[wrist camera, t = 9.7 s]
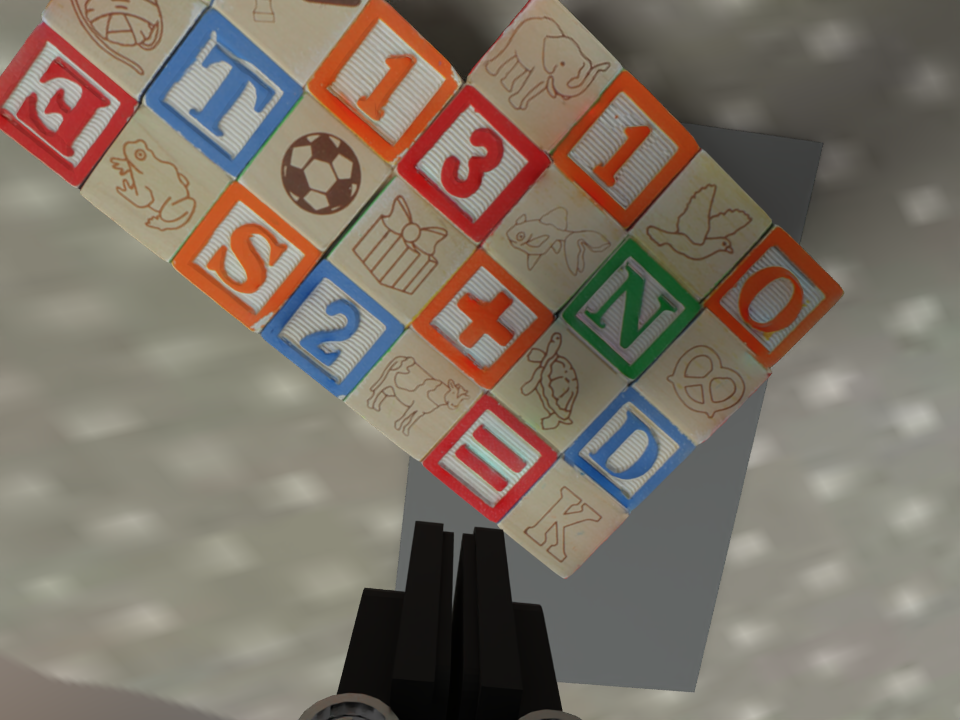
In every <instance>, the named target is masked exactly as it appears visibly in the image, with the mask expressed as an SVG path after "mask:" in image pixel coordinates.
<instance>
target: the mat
mask: <svg viewBox="0 0 960 720" xmlns="http://www.w3.org/2000/svg"><path fill="white" fill-rule="evenodd" d="M680 123H681V124H682V125H683V126H684V128H685V129H686V130H687V131H688V132H689V133H690V134H691V135H692V136H693V137H694V139H695V141H696V142H697V144H698V145H699V147H700V148H702V149H703V150H704V151H706V152H707V153H708V154H709V155H710V156H711V157H712V158H713V159H714V160H715V161H716V163H717V164H718V165H719V166H720V167H721V168H722V169H723V170H724V171H725V172H726V173H727V174H728V175H729V176H730V177H731V178H732V179H733V180H734V181H735V182H736V183H737V184H738V185H739V186H740V187H741V188H742V189H743V190H744V191H745V192H746V193H747V194H748V195H749V196H750V197H751V198H752V199H753V200H754V201H755V202H756V203H757V204H758V205H759V207H761V208H762V209H763V210H764V211H765V212H766V213H767V215H768V216H769V217H770V218H771V220H772V223H773V224H776V225H779V226H780V227H781V228H782V229H783V230H785V231H786V232H787V233H788V234H789V235H790V236H791V237H792V238H793V239H794V240H795V241H796V242H797V243H798V244H799V245H800V241H801V236H802V232H803V228H804V224H805V219H806V215H807V211H808V207H809V202H810V198H811V194H812V190H813V185H814V181H815V177H816V173H817V168H818V164H819V160H820V156H821V151H822V147H823V143H820V142H814V141H807V140H800V139H793V138H786V137H779V136H772V135H765V134H758V133H751V132H744V131H737V130H730V129H723V128H717V127H710V126H703V125H696V124H689V123H682V122H680ZM767 381H768V379H767V380H766V381H765V382H764V383H763V384H762V385H760V387H759V388H758V389H757V390H756V391H755V393H753V394H752V395H751V396H750V397H749V398H748V399H747V400H746V401H745V402H744V403H743V404H742V405H741V407H739V408H738V409H737V410H736V411H735V412H734V413H733V414H732V415H731V416H730V417H729V418H728V419H727V421H726V422H725V423H724V424H723V425H722V426H720V427H719V428H718V429H717V430H716V431H715V432H714V433H713V434H712V435H711V436H710V437H709V438H708V439H707V440H706V441H705V442H703V443H701V444H699V445H698V446H697V447H696V449H695V450H694V451H693V452H692V453H691V454H690V455H689V456H688V457H687V458H686V459H685V460H684V461H683V462H681V463H680V464H679V465H678V466H677V467H676V468H675V469H674V470H673V471H672V472H671V473H670V474H669V475H668V476H667V477H666V478H665V479H664V480H663V481H662V482H661V483H660V484H659V485H658V486H657V487H656V488H655V489H654V490H653V491H652V492H651V494H650V495H649V496H648V497H646V498H645V499H644V500H643V501H642V502H641V503H640V504H639V505H638V506H637V507H636V508H635V509H633V510H632V511H631V514H630V515H629V516H628V517H627V518H626V520H625V521H624V522H623V523H622V524H621V525H620V526H619V527H618V528H617V529H616V530H615V531H614V532H613V533H612V534H611V535H610V536H609V537H608V539H607V540H606V541H604V542H603V543H602V544H601V545H600V546H599V547H598V548H597V549H596V550H595V551H594V553H593V554H592V555H591V556H590V557H589V558H588V559H587V560H586V561H585V562H584V563H583V564H582V565H581V566H580V567H579V568H578V569H577V570H576V571H575V572H574V573H573V574H572V575H571V576H569V577H568V578H567V579H564V578H562V577H561V576H559V575H558V574H556V573H555V572H554V571H552V570H551V569H550V568H548V567H547V566H546V565H545V564H543V563H542V562H541V561H540V560H538V559H537V558H536V557H535V556H533V555H532V554H531V553H530V552H528V551H527V550H526V549H525V548H523V547H522V546H521V545H520V544H518V543H517V542H516V541H515V540H514V539H512V538H511V537H510V536H509V535H507V534H506V533H505V532H504V538H505V546H506V554H507V563H508V571H509V579H510V587H511V595H512V602H520V603H531V604H540V605H541V606H542V609H543V613H544V618H545V623H546V629H547V634H548V639H549V644H550V649H551V654H552V659H553V665H554V670H555V675H556V680H557V682H566V683H579V684H592V685H605V686H618V687H631V688H645V689H658V690H671V691H684V692H695V687H696V683H697V679H698V675H699V670H700V666H701V662H702V658H703V653H704V649H705V645H706V641H707V636H708V632H709V628H710V624H711V619H712V615H713V611H714V607H715V602H716V598H717V594H718V590H719V585H720V581H721V577H722V572H723V568H724V564H725V560H726V555H727V551H728V547H729V543H730V538H731V534H732V530H733V526H734V521H735V517H736V513H737V509H738V504H739V500H740V496H741V492H742V487H743V483H744V479H745V475H746V470H747V466H748V462H749V458H750V453H751V449H752V445H753V441H754V436H755V432H756V428H757V424H758V419H759V415H760V411H761V407H762V402H763V398H764V394H765V390H766V385H767ZM415 521H425V522H435V523H444V527H443V531H447V532H454V557H453V595H452V608H453V600H454V593H455V586H456V578H457V571H458V563H459V556H460V548H461V541H462V535H463V533H467V534H473V531H474V527H485V528H494V529H500V528H499V527H498V525H497V524H496V523H495V522H493V521H490V520H489V519H487V518H486V517H485V516H484V515H482V514H481V513H480V512H479V511H477V510H476V509H475V508H474V507H473V506H471V505H470V504H469V503H468V502H466V501H465V500H464V499H463V498H461V497H460V496H459V495H458V494H456V493H455V492H454V491H453V490H451V489H450V488H449V487H448V486H447V485H445V484H444V483H443V482H442V481H440V480H439V479H438V478H437V477H435V476H434V475H433V474H432V473H431V472H430V471H428V470H427V469H426V468H425V467H424V466H423V464H422V463H421V462H420V461H418V460H416V459H414V458H413V457H412V456H410V459H409V468H408V477H407V486H406V496H405V505H404V514H403V523H402V533H401V542H400V551H399V561H398V570H397V579H396V588H395V591H404V592H405V588H406V581H407V574H408V568H409V561H410V554H411V547H412V541H413V534H414V527H415Z"/></svg>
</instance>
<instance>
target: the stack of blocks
mask: <svg viewBox="0 0 960 720" xmlns="http://www.w3.org/2000/svg"><path fill="white" fill-rule="evenodd" d="M41 16H42V22H41V23H40V24H39V25H38V26H37V27H36V28H35V29H34V31H33V32H32V33H31V34H30V36H29V37H28V38H27V40H26V42H25V43H24V45H23V46H22V47H21V49H20V50H19V51H18V53H17V54H16V56H15V57H14V58H13V60H12V61H11V63H10V64H9V66H8V67H7V68H6V70H5V71H4V72H3V74H2V75H1V76H0V130H1V131H3V132H4V133H5V134H7V135H8V136H9V137H10V138H12V139H13V140H14V141H15V142H17V143H18V144H19V145H20V146H22V147H23V148H24V149H26V150H27V151H28V152H29V153H31V154H32V155H33V156H35V157H36V158H37V159H38V160H40V161H41V162H42V163H44V164H45V165H46V166H47V167H49V168H50V169H51V170H53V171H54V172H55V173H56V174H58V175H59V176H60V177H62V178H63V179H64V180H65V181H67V182H68V183H69V184H70V185H72V186H73V187H75V188H78V189H80V194H81V195H82V196H83V197H84V198H86V199H87V200H88V201H89V202H90V203H91V204H93V205H94V206H95V207H96V208H97V209H99V210H100V211H101V212H103V213H104V214H105V215H107V216H108V217H109V218H111V219H112V220H113V221H114V222H116V223H117V224H118V225H119V226H120V227H122V228H123V229H124V230H125V231H126V232H128V233H129V234H130V235H131V236H132V237H134V238H135V239H136V240H138V241H139V242H140V243H142V244H143V245H144V246H146V247H147V248H148V249H150V250H151V251H152V252H154V253H155V254H156V255H158V256H159V257H160V258H161V259H163V260H164V261H167V262H169V263H171V264H172V266H173V267H174V269H175V270H176V271H178V272H179V273H180V274H181V275H183V276H184V277H185V278H186V279H187V280H189V281H190V282H191V283H192V284H194V285H195V286H196V287H197V288H199V289H200V290H201V291H202V292H204V293H205V294H206V295H207V296H209V297H210V298H211V299H212V300H214V301H215V302H216V303H217V304H219V305H220V306H221V307H222V308H224V309H225V310H226V311H227V312H229V313H230V314H231V315H232V316H234V317H235V318H236V319H237V320H239V321H240V322H241V323H242V324H244V325H245V326H246V327H247V328H248V329H250V330H251V331H253V332H255V333H258V334H260V335H261V336H262V337H263V339H264V340H265V341H266V342H268V343H269V344H270V345H272V346H273V347H274V348H275V349H277V350H278V351H279V352H280V353H282V354H283V355H284V356H286V357H287V358H288V359H289V360H291V361H292V362H293V363H294V364H296V365H297V366H298V367H299V368H301V369H302V370H303V371H304V372H306V373H307V374H308V375H309V376H311V377H312V378H313V379H315V380H316V381H317V382H318V383H320V384H321V385H322V386H323V387H324V388H326V389H327V390H328V391H330V392H331V393H332V394H333V395H335V396H336V397H337V398H339V399H341V400H343V401H344V402H345V403H346V404H347V405H348V406H349V407H350V408H351V409H353V410H354V411H355V412H356V413H358V414H359V415H360V416H361V417H362V418H364V419H365V420H366V421H367V422H369V423H370V424H371V425H372V426H374V427H375V428H376V429H377V430H379V431H380V432H381V433H382V434H384V435H385V436H386V437H387V438H389V439H390V440H391V441H392V442H394V443H395V444H396V445H397V446H399V447H400V448H401V449H403V450H404V451H405V452H406V453H408V454H409V455H410V456H412V457H413V458H414V459H416V460H418V461H420V462H421V463H422V464H423V466H424V467H425V468H426V469H427V470H428V471H430V472H431V473H432V474H433V475H434V476H435V477H437V478H438V479H439V480H440V481H442V482H443V483H444V484H445V485H447V486H448V487H449V488H450V489H451V490H453V491H454V492H455V493H456V494H458V495H459V496H460V497H461V498H463V499H464V500H465V501H466V502H468V503H469V504H470V505H471V506H473V507H474V508H475V509H476V510H477V511H479V512H480V513H481V514H482V515H484V516H485V517H486V518H487V519H489V520H490V521H493V522H495V523H496V524H497V525H498V527H499V528H500V529H503V531H504V532H505V533H506V534H507V535H509V536H510V537H511V538H512V539H514V540H515V541H516V542H517V543H518V544H520V545H521V546H522V547H523V548H525V549H526V550H527V551H528V552H530V553H531V554H532V555H533V556H535V557H536V558H537V559H538V560H540V561H541V562H542V563H543V564H545V565H546V566H547V567H548V568H550V569H551V570H552V571H554V572H555V573H556V574H558V575H559V576H561V577H562V578H564V579H567V578H568V577H569V576H571V575H572V574H573V573H574V572H575V571H576V570H577V569H578V568H579V567H580V566H581V565H582V564H583V563H584V562H585V561H586V560H587V559H588V558H589V557H590V556H591V555H592V554H593V553H594V551H595V550H596V549H597V548H598V547H599V546H600V545H601V544H602V543H603V542H604V541H606V540H607V539H608V537H609V536H610V535H611V534H612V533H613V532H614V531H615V530H616V529H617V528H618V527H619V526H620V525H621V524H622V523H623V522H624V521H625V520H626V518H627V517H628V516H629V515H630V514H631V511H632V510H633V509H635V508H636V507H637V506H638V505H639V504H640V503H641V502H642V501H643V500H644V499H645V498H646V497H648V496H649V495H650V494H651V492H652V491H653V490H654V489H655V488H656V487H657V486H658V485H659V484H660V483H661V482H662V481H663V480H664V479H665V478H666V477H667V476H668V475H669V474H670V473H671V472H672V471H673V470H674V469H675V468H676V467H677V466H678V465H679V464H680V463H681V462H683V461H684V460H685V459H686V458H687V457H688V456H689V455H690V454H691V453H692V452H693V451H694V450H695V449H696V447H697V446H698V445H699V444H701V443H703V442H705V441H706V440H707V439H708V438H709V437H710V436H711V435H712V434H713V433H714V432H715V431H716V430H717V429H718V428H719V427H720V426H722V425H723V424H724V423H725V422H726V421H727V419H728V418H729V417H730V416H731V415H732V414H733V413H734V412H735V411H736V410H737V409H738V408H739V407H741V405H742V404H743V403H744V402H745V401H746V400H747V399H748V398H749V397H750V396H751V395H752V394H753V393H755V391H756V390H757V389H758V388H759V387H760V385H762V384H763V383H764V382H765V381H766V380H767V379H768V378H769V376H770V375H771V374H772V371H771V369H770V368H771V367H772V366H773V365H774V364H775V363H776V362H778V361H779V360H780V359H781V358H782V357H783V356H784V355H785V354H786V353H787V352H788V351H789V350H790V349H791V348H792V347H793V346H794V345H795V344H796V343H797V342H798V341H799V340H800V339H801V338H802V337H803V336H804V335H805V334H806V333H807V332H808V331H809V330H810V329H811V328H812V327H813V326H814V325H815V324H816V323H817V322H818V321H819V320H820V319H821V318H822V317H823V316H824V315H825V314H826V313H827V312H828V311H829V310H830V309H831V308H832V307H833V306H834V305H835V304H836V303H837V302H838V300H839V299H840V298H841V297H842V296H843V294H844V291H843V289H842V288H841V287H840V285H839V284H838V283H837V282H836V281H835V280H834V279H833V278H832V277H831V276H830V275H829V274H828V273H827V272H826V271H825V270H824V269H823V268H822V267H821V266H820V265H819V264H818V263H817V262H816V261H815V260H814V259H813V258H812V257H811V256H810V255H809V254H808V253H807V252H806V251H805V250H804V249H803V248H802V247H801V246H800V245H799V244H798V243H797V242H796V241H795V240H794V239H793V238H792V237H791V236H790V235H789V234H788V233H787V232H786V231H785V230H783V229H782V228H781V227H780V226H779V225H776V224H773V223H772V220H771V218H770V217H769V216H768V215H767V213H766V212H765V211H764V210H763V209H762V208H761V207H759V205H758V204H757V203H756V202H755V201H754V200H753V199H752V198H751V197H750V196H749V195H748V194H747V193H746V192H745V191H744V190H743V189H742V188H741V187H740V186H739V185H738V184H737V183H736V182H735V181H734V180H733V179H732V178H731V177H730V176H729V175H728V174H727V173H726V172H725V171H724V170H723V169H722V168H721V167H720V166H719V165H718V164H717V163H716V161H715V160H714V159H713V158H712V157H711V156H710V155H709V154H708V153H707V152H706V151H704V150H703V149H702V148H700V147H699V145H698V144H697V142H696V141H695V139H694V137H693V136H692V135H691V134H690V133H689V132H688V131H687V130H686V129H685V128H684V126H683V125H682V124H681V123H680V122H679V121H678V120H677V119H676V118H675V117H674V116H673V115H672V114H671V113H670V112H669V111H668V110H667V109H666V108H665V107H664V106H663V105H662V104H661V103H660V102H659V101H658V100H657V99H656V98H655V97H654V96H653V95H652V94H651V93H650V92H649V91H648V90H647V89H646V88H645V87H644V86H643V85H642V84H641V83H640V82H639V81H638V80H637V79H636V78H635V77H634V76H633V75H632V74H630V73H629V72H628V71H627V70H625V69H624V68H623V67H622V66H621V64H620V63H619V61H618V60H617V59H616V58H615V57H614V56H613V55H612V54H611V53H610V52H609V51H608V50H607V49H606V48H605V47H604V46H603V45H602V44H601V43H600V42H599V41H598V40H597V39H596V38H595V37H594V36H593V35H592V34H591V33H590V32H589V31H588V30H587V29H586V28H585V27H584V26H583V25H582V24H581V23H580V22H579V21H578V20H577V19H576V18H575V17H574V16H573V14H572V13H571V12H570V11H569V10H568V9H567V8H566V7H565V6H564V5H563V4H562V3H561V2H560V1H559V0H529V1H528V2H527V3H526V5H525V6H524V7H523V8H522V10H521V11H520V12H519V13H518V14H517V15H516V17H515V18H514V19H513V20H512V22H511V23H510V24H509V26H508V27H507V28H506V29H505V30H504V31H503V32H502V34H501V35H500V36H499V38H498V39H497V40H496V41H495V43H494V44H493V45H492V46H491V47H490V48H489V49H488V50H487V52H486V53H485V54H484V55H483V56H482V57H481V59H480V60H479V61H478V62H477V63H476V65H475V66H474V67H473V68H472V70H471V71H470V73H469V74H468V76H467V80H466V82H464V81H463V80H462V78H461V77H460V75H459V74H458V73H457V71H456V70H455V69H454V68H453V66H452V65H451V64H450V62H449V61H448V60H447V59H446V58H445V57H444V56H443V55H442V54H441V53H440V52H439V51H438V50H436V49H435V48H434V47H433V46H432V45H431V44H430V43H429V42H428V41H427V40H426V39H425V38H424V37H423V36H422V35H421V34H420V33H419V32H418V31H417V30H416V29H415V28H414V27H413V26H412V25H411V24H410V23H409V22H408V21H407V20H406V19H405V18H403V17H402V16H401V15H400V14H399V13H398V12H397V11H396V10H395V9H394V8H393V7H392V6H391V5H390V4H389V3H388V2H386V1H385V0H50V2H49V3H48V5H47V6H46V8H45V9H44V11H43V13H42V14H41Z"/></svg>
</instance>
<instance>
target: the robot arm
mask: <svg viewBox="0 0 960 720" xmlns="http://www.w3.org/2000/svg"><path fill="white" fill-rule="evenodd" d="M443 527H444V523H435V522H425V521H415V527H414V534H413V541H412V547H411V554H410V561H409V568H408V574H407V581H406V588H405V592H404V591H393V590H383V589H372V588H364V590H363V594H362V597H361V601H360V605H359V609H358V613H357V617H356V621H355V625H354V629H353V633H352V637H351V641H350V645H349V649H348V652H347V656H346V660H345V664H344V668H343V672H342V676H341V680H340V684H339V688H338V692H337V695H332V696H330V697H327V698H325V699H323V700H320V701H318V702H316V703H315V704H314V705H312V706H311V707H310V708H308V709H307V710H306V711H304V713H303V714H302V715H301V717H300V718H299V719H298V720H582V719H580V718H579V717H577V716H575V715H572V714H569V713H566V712H563V711H562V706H561V701H560V696H559V690H558V685H557V680H556V675H555V670H554V665H553V659H552V654H551V649H550V644H549V639H548V634H547V629H546V623H545V618H544V613H543V609H542V606H541V605H540V604H531V603H520V602H512V595H511V587H510V579H509V571H508V563H507V554H506V546H505V538H504V531H503V529H494V528H485V527H474V531H473V534H467V533H463V535H462V541H461V548H460V556H459V563H458V571H457V578H456V586H455V593H454V600H453V608H452V595H453V557H454V532H447V531H443Z"/></svg>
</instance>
